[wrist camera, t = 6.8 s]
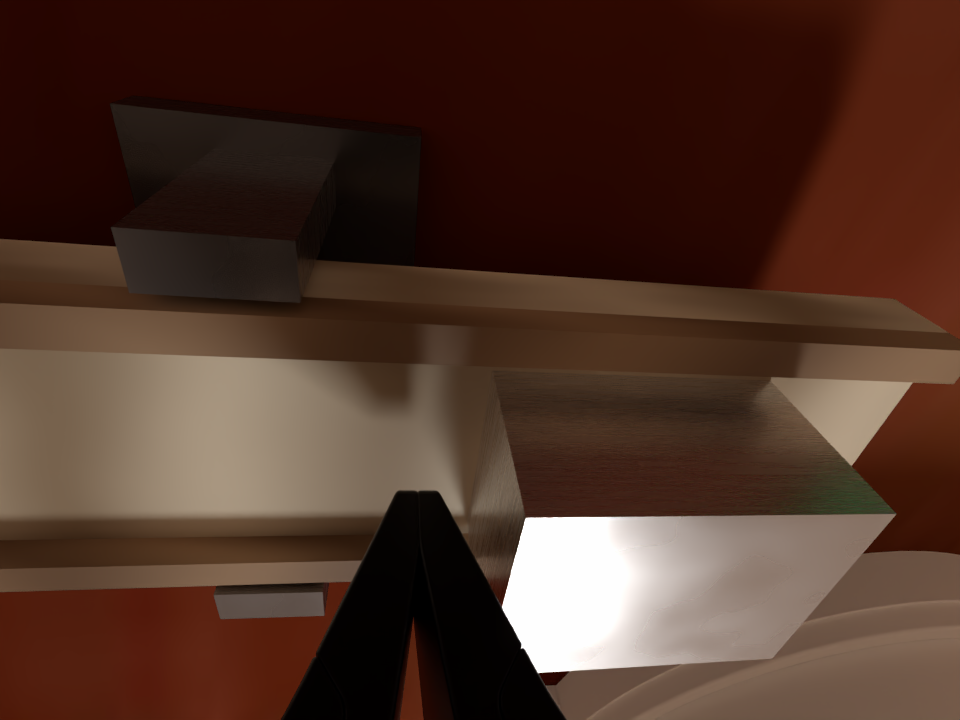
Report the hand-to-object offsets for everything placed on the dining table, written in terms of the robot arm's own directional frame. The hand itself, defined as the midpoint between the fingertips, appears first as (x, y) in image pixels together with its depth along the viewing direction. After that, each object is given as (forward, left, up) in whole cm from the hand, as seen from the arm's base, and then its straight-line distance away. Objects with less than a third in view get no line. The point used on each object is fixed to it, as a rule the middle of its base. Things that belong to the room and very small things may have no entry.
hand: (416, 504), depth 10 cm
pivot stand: (-3, 0, -6) cm, 7 cm away
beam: (-1, 0, -4) cm, 4 cm away
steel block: (+4, 0, -2) cm, 5 cm away
